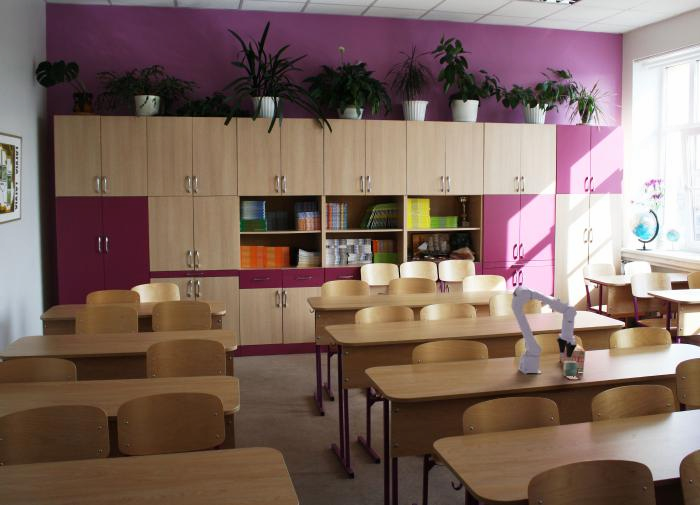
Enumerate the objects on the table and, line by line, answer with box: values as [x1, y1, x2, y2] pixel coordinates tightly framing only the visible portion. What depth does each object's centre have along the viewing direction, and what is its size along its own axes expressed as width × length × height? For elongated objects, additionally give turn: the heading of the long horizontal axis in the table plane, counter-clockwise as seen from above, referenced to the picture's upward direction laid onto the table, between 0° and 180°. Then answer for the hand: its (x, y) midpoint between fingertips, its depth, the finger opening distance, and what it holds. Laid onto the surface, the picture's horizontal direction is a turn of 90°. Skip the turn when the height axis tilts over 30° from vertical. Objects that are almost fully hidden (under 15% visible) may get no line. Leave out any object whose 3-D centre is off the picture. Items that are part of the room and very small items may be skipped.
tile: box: [562, 361, 577, 377], centre depth 352 cm, size 6×2×7 cm, turn 100°
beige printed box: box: [559, 343, 586, 374], centre depth 367 cm, size 21×6×12 cm, turn 0°
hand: (565, 354), depth 356 cm, fingers open, 7 cm apart
